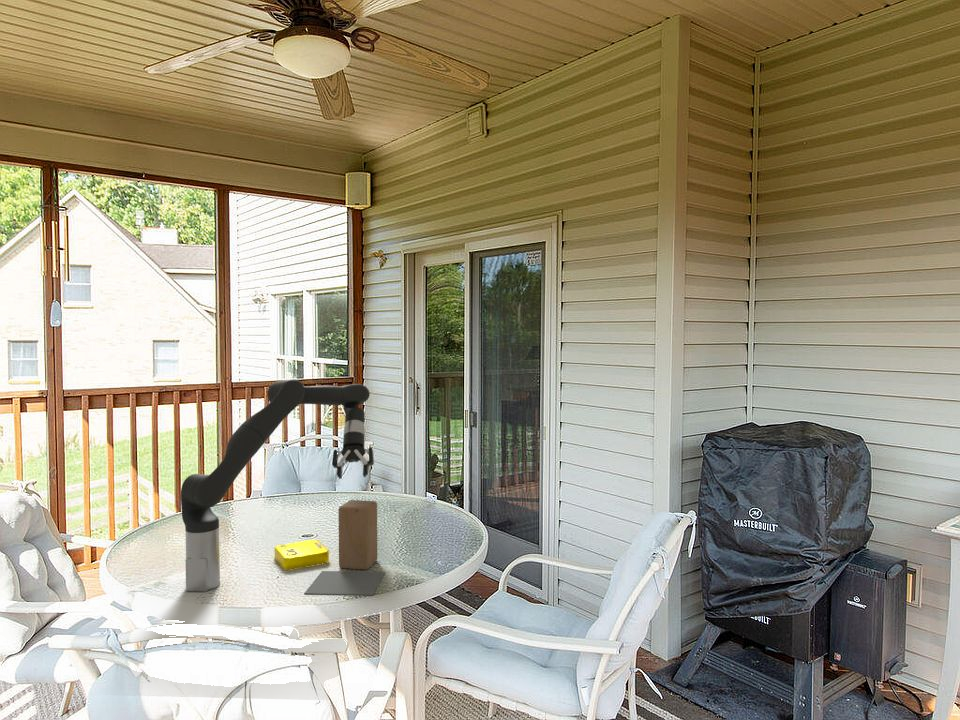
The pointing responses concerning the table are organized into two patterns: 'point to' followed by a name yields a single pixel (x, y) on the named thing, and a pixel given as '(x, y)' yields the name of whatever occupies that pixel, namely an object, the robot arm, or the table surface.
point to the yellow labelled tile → (301, 554)
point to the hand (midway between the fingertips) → (352, 477)
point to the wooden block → (357, 534)
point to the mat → (345, 583)
